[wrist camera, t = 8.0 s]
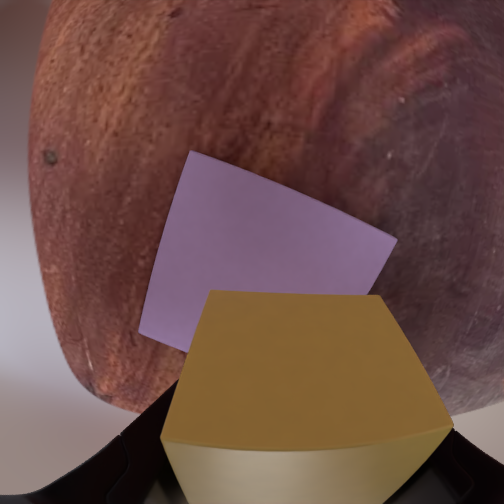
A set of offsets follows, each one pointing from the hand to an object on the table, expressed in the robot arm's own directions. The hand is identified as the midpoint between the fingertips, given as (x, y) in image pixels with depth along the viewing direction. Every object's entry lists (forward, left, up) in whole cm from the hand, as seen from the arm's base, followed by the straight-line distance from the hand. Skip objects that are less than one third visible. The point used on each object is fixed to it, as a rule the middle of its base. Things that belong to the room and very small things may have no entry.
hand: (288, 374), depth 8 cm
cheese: (0, 0, 0) cm, 0 cm away
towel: (0, +1, -4) cm, 4 cm away
